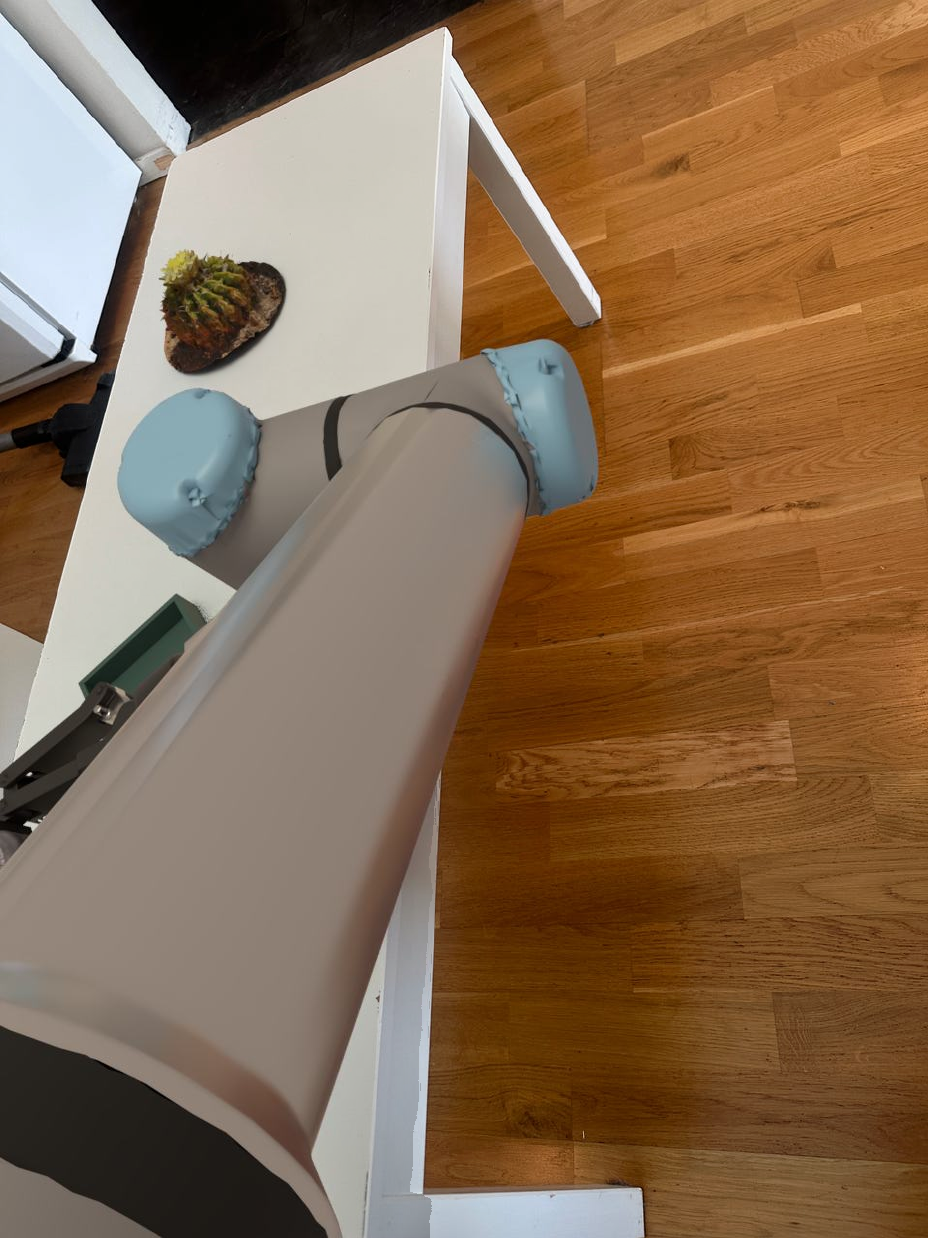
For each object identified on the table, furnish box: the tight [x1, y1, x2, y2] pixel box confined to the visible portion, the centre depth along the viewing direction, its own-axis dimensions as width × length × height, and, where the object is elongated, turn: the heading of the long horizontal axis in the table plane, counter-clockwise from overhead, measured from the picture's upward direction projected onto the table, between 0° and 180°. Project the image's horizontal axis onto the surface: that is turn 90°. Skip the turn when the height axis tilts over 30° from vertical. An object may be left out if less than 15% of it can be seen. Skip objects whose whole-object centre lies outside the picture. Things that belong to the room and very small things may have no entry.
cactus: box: [158, 248, 285, 373], centre depth 98 cm, size 17×16×10 cm
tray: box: [78, 593, 208, 740], centre depth 80 cm, size 13×13×3 cm
